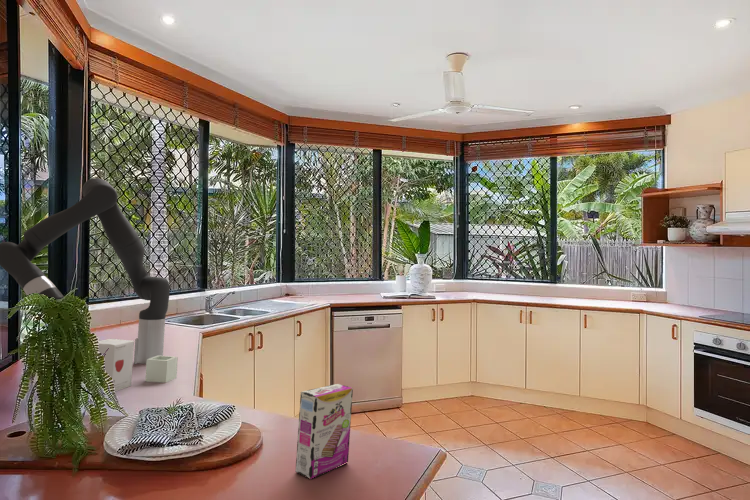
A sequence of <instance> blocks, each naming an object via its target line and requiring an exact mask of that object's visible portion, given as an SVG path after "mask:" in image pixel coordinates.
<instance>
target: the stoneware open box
mask: <svg viewBox="0 0 750 500" xmlns="http://www.w3.org/2000/svg"><path fill="white" fill-rule="evenodd" d="M178 359H179V357H178V356H174V355H173V356H172V355H163V356H159V355H158V356H155V357H152V358H149V359H147V361H146V364H145V377H144V378H145V382H148V383H149V382H150V383H166V384H167V383H169V382H171V381H172V380H174V379H177V376H178V375H177V373H178Z"/></svg>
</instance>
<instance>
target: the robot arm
mask: <svg viewBox="0 0 750 500" xmlns="http://www.w3.org/2000/svg"><path fill="white" fill-rule="evenodd" d="M81 190H82V191H81V193H82V198H81V199H80V200H78V201H77V202H76V203H75V204H73V205H71V206H70V207H68V208H65V209H64V210H62V211H59V212H57V213H55V214H52V215H49V216H47V217H45V218H44V219H41V220H39V222H37V223H36V224H34V225H33V226H32V227H30V228H28V229H27V230H26V231H24V232H23V238H24V239H23V240H21V242H20V243H18V244H17V243H15V242H11V241H2V242H0V267H1V268H2V269H4V271H5V272H7V273H8V274H9V275H10V276H12V278H13V279H14V280H15V281H16V283H17V284H18V285H19V286H20V288H21V289H22V290H23V291H24V293H25V295H26V296H27V295H29V294H32V293H39V294H44V295H47V296H48V297H54V298H56V299H61V298H63V297H65V296H64V295H63V294H62V292H61V291H60V290H59V289H58V287H56V285H55V284H54V283H53V282H52V281H51V280H50V278H48V277H47V276H46V274H45V273H44V272H43V271H42V270H41V269H40V267H38V266H37V265H36V264H34V263H32V260H33V259H34V258H36V256H38V255H39V253H41V252H42V250H43V249H44V248H45V247H47V246H48V245H50V244H51V243H53V242H54V241H56V240H57V239H58V238H60V237H61V236H63V235H64V234H66V233H67V232H69V231H71V230H72V229H73V228H75V227H77V226H79V225H80V224H82V223H84V222H86V221H88V220H89V219H92V218H93V217H95V216H97V217H98V219H99V221H100V222H101V225H102V228H103V230H104V233H105V235H106V237H107V239H108V241H109V243H110V245H111V247H112V249H113V250H114V252H115V254H116V255H117V257H118V258H119V260H120V262H121V264H122V266H123V267H124V270H125V271H126V273H127V275H128V277H129V280H130V283H131V284H132V287H133V289H134V292H135V294H136V295H137V297H139V299H141V300H144V301H149V305H148V307H147V308H145V309H142V310H140V311H139V313H138V330H137V338H135V339H134V350H133V365H136V364H141V365H146V361H147V359H149V358H152V357H155V356H158V355H159V356H164V345H165V331H166V330H165V328H166V327H165V326H166V315H167V312H168V309H169V301H170V293H171V289H170V288H171V287H170V282H169V281H168V279H167V278H166V277H163V276H151V275H149V273H148V272H147V270H146V268H145V266H144V255H145V246H144V244H143V242H142V240H141V238H140V236H139V234H138V233H137V231H136V230H135V227H133V226H132V224H131V221H129V220H128V219H127V217H126V216H125V214H124V213H123V212H122V211H121V209H120V206H119V204H118V192H117V191H116V189H115V188H114V187H113V185H111V184H110V182H108V181H107V180H105V179H103V178H99V177H92V178H90V179H88V180H86V181H85V182H84V184H83V186H82V189H81Z"/></svg>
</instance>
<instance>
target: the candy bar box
mask: <svg viewBox="0 0 750 500" xmlns="http://www.w3.org/2000/svg"><path fill="white" fill-rule="evenodd" d="M353 390H354V388H353V387H351V386H348V385H345V384H341V383H336V384H335V383H334V384H329V385H326V386H322V387H317V388H312V389H308V390H303V391H301V392H300V399H299V400H300V401H299V411H298V412H299V416H298V427H297V428H298V429H297V430H298V431H297V442H296V443H297V444H296V459H295V460H296V461H295V473H296V472H297V474H298V473H299V475H300V474H301V476H302V475H303V476H302V477H304V476H306V477H308V478H310V479H309V480H313V479H315V478H317V477H316V476H318V477H320V476H322V475H324V474H323V473H325V474H327V473H329V472H331V471H330V470H332V469H334V468H336V467H338V466H340V465H342V464H344V463H346V462H348V463H349V452H350V441H351V440H350V438H351V437H350V435H351V423H352V421H351V420H352V409H353V408H352V407H353ZM336 469H337V468H336ZM334 470H335V469H334ZM328 471H329V472H328ZM332 471H333V470H332ZM326 472H327V473H326ZM321 474H322V475H321ZM319 475H320V476H319ZM306 477H305V478H306ZM314 477H315V478H314ZM308 478H307V479H308ZM312 478H313V479H312Z"/></svg>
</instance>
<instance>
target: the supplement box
mask: <svg viewBox="0 0 750 500" xmlns="http://www.w3.org/2000/svg"><path fill="white" fill-rule="evenodd" d="M98 342H99V352H100V353H102V354H103V353H105V351H106V350H107V349H108V348H109V350H108V351H107V352H106V355H105V370H106V372H107V373H108V374H109V375H110V376H111V377H112V379H113V383H114V387H115V392H117V391H120V390H123V389H125V388H128V387H131V386H132V379H133V377H132V376H133V365H134V351H135V340H132V339H131V340H128V339H119V338H117V339H116V338H108V339H103V340H98Z"/></svg>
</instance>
